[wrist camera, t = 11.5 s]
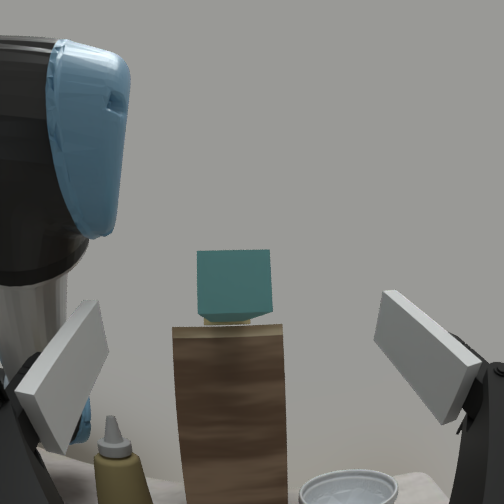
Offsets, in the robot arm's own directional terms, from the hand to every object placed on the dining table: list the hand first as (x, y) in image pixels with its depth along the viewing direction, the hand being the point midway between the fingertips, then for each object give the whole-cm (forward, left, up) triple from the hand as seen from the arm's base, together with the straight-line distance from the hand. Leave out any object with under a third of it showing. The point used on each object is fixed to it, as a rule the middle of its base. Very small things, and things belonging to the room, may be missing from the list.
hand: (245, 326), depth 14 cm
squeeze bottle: (-29, +7, -30) cm, 42 cm away
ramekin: (-6, +26, -30) cm, 40 cm away
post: (-19, +19, -30) cm, 40 cm away
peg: (-9, +9, 0) cm, 12 cm away
